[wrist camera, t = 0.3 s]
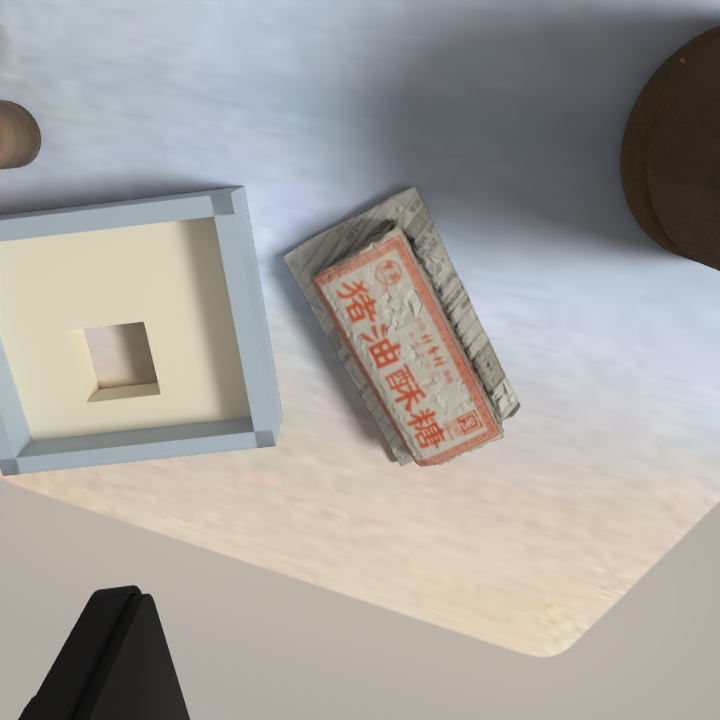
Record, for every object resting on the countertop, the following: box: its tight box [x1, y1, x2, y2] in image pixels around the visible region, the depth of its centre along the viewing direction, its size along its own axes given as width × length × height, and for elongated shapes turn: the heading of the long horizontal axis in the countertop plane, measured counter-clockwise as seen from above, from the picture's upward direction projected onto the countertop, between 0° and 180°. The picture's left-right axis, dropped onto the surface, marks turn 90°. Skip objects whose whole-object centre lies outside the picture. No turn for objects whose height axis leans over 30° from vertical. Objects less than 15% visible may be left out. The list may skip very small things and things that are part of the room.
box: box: [0, 186, 283, 476], centre depth 43 cm, size 16×18×5 cm
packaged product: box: [283, 187, 520, 466], centre depth 44 cm, size 18×5×10 cm
